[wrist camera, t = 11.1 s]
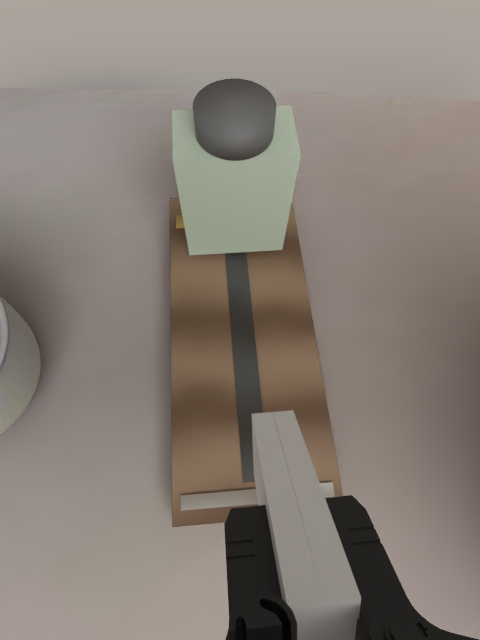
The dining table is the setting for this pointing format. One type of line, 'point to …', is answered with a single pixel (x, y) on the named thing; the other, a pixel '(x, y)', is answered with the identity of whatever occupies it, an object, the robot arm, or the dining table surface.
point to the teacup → (16, 365)
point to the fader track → (239, 371)
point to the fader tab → (235, 168)
